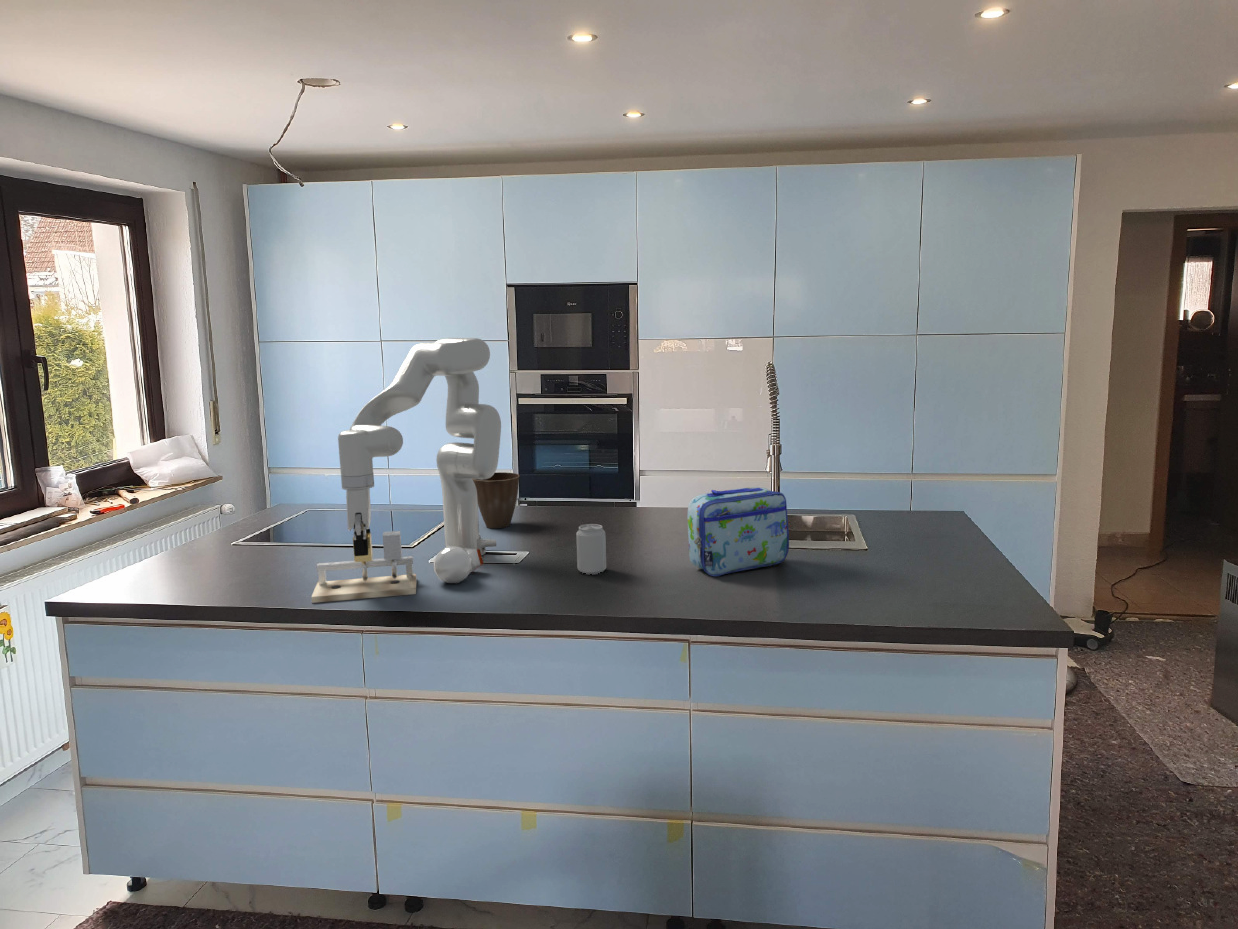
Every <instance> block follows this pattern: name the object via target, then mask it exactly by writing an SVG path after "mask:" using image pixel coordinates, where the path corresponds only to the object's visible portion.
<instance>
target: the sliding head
mask: <svg viewBox="0 0 1238 929" xmlns="http://www.w3.org/2000/svg"><path fill="white" fill-rule="evenodd" d="M353 539H354V535H353V536H352V540H353ZM366 539H367V541H368V555H365V556H355V555H354V554H353V558H354V559H353V561H355V562H361V563H362V568H361V572H362V573H361V575H362V578H363V580H364V581H367V579H368V578H369V577H368V576H369V575H368V568H367V561H372V559H374V558H373V543H372V542H373V541H372V533H371V532H370V533H366ZM352 545H353V547H352V548H353V549H354V544H353V543H352Z"/></svg>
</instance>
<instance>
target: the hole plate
mask: <svg viewBox="0 0 1238 929" xmlns="http://www.w3.org/2000/svg"><path fill="white" fill-rule="evenodd" d="M326 582H327V583H326V585H319V581H317V582H316V585H315V587H314V589H313V592H312V594H311V597H310V598H311V603H312V604H315V603H327V602H328V603H329V602H337V601H339V602H340V601H352V600H362V599H372V598H374V599H375V598H384V597H385V598H386V597H394V596H395V597H396V596H407V595H408V596H409V595H416V593H417V573H413V578H407V574H401V575H399V574H397V578H395V579H394V578H393V577H392V575H387V576H386V575H385V576H375V577H368V579H367V581H364V580H363V577H361V578H352V579H351V578H349V579H336V580H326Z"/></svg>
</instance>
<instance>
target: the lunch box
mask: <svg viewBox="0 0 1238 929" xmlns="http://www.w3.org/2000/svg"><path fill="white" fill-rule="evenodd" d="M687 535H688V536H687V537H688V554H689V560H690V563H691V564H692V565H693V566H694V567H697V568H700V569H702V570H703V572H704V573H706V574H708V575H709V576H711V577H720V576H723V575H726V574H730V573H737V572H743V571H748V570H754V569H759V568H763V567H770V566H773V565H774V566H775V565H779V564H781V563H784V561H785V560H786V558H787V556H788V554H789V550H790V532H789V518H788V507H787V498H786V496H785V494H784V493H782V492H780V491H775V490H771V489H768V488H765V487H757V486H755V487H742V488H741V487H740V488H733V489H726V490H716V489H715V490H714V489H711V492H708V493H702V494H699V495H696V496H695V497H694V498H692V499H691V500H690V501H689V504H688V507H687Z"/></svg>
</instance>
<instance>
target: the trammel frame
mask: <svg viewBox="0 0 1238 929" xmlns="http://www.w3.org/2000/svg"><path fill="white" fill-rule="evenodd" d="M382 541H383V542H382V544H383V545H382V546H383V557H384V558H383V557H382V558H372V561H367V569H368V568H379V567H380V568H381V567H391V576H392V577H393V578H394V579H395V578H397V575H398V571H397V570H398V568H397V566H404V565H405V570H406V571H405V572H406V574H405V575H407V578H413V574H414V570H413V568H414V567H413V565H414V557H413V556H412V555H410V556H402V555H403V551H402V537H401V530H395V531H394V530H393V531H384V532H383V533H382ZM354 569H357V570H358V569H362V563H361V562H355V561H354V560H345V561H334V562H333V561H332V562H331V561H330V562H320V563H317V564H316V572H317V576H318V582H319V585H326V583H327V582H326V581H327V572H328V571H329V572H330V571H341V570H342V571H343V570H354Z"/></svg>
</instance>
